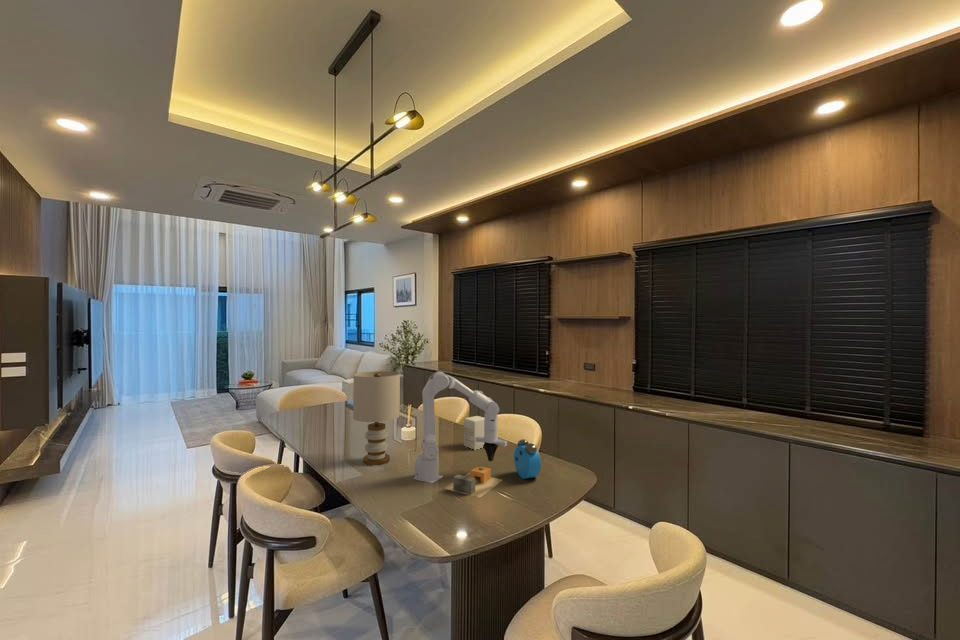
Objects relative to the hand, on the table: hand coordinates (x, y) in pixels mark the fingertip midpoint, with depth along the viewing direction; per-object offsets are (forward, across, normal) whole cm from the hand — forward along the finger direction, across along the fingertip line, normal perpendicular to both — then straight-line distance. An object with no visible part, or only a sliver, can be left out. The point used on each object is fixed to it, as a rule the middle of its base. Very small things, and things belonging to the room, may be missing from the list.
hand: (490, 460), depth 168 cm
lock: (+5, 0, +8) cm, 10 cm away
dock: (+6, 0, +14) cm, 15 cm away
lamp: (+6, +53, +14) cm, 55 cm away
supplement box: (+6, +24, -28) cm, 37 cm away
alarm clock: (+6, -15, -4) cm, 17 cm away
